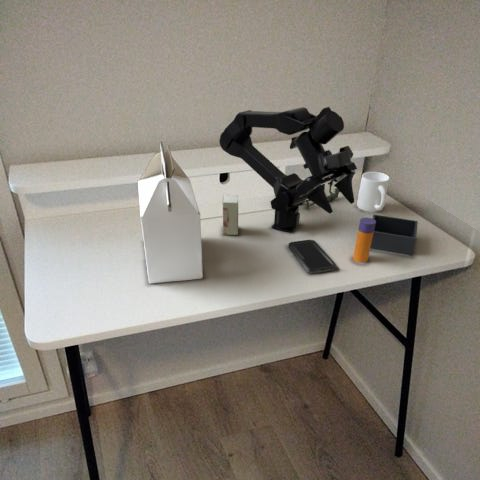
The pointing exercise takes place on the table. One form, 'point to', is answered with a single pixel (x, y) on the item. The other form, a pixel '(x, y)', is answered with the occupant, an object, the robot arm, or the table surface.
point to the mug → (373, 191)
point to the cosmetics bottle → (230, 214)
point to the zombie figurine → (330, 197)
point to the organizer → (394, 234)
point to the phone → (311, 256)
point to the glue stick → (364, 239)
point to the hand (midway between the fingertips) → (342, 207)
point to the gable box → (169, 221)
